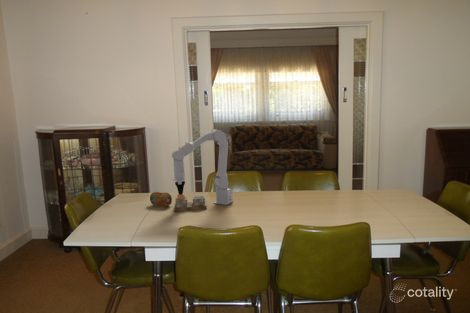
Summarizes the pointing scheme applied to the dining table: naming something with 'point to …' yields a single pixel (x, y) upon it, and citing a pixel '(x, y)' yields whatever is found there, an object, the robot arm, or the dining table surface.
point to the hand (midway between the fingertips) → (180, 194)
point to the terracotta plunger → (181, 196)
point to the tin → (160, 199)
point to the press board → (190, 204)
